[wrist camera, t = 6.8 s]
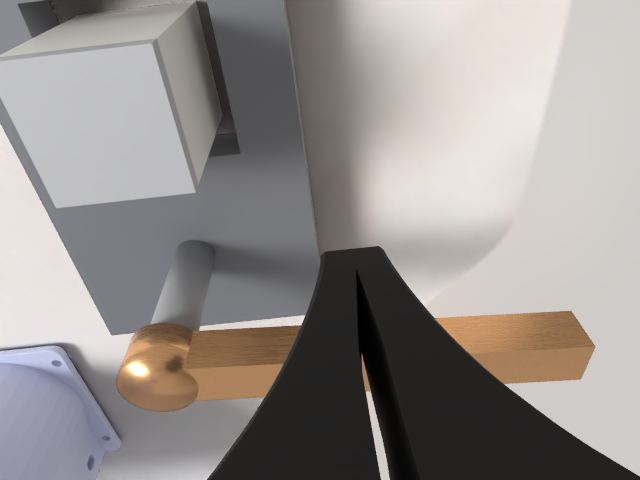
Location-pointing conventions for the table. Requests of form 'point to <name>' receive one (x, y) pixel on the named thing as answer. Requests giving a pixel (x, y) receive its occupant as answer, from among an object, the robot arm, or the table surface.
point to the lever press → (202, 195)
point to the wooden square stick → (276, 342)
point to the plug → (115, 104)
